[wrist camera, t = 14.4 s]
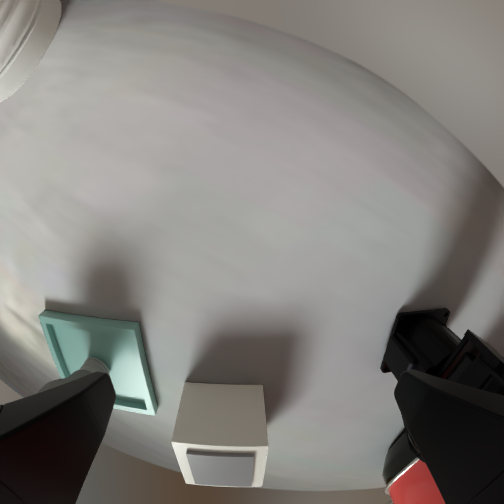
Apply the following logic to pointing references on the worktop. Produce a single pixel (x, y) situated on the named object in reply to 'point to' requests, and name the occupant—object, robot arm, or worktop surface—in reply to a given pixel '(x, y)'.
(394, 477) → the toaster
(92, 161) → the worktop surface
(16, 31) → the honey pot
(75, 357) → the tray
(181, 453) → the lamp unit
